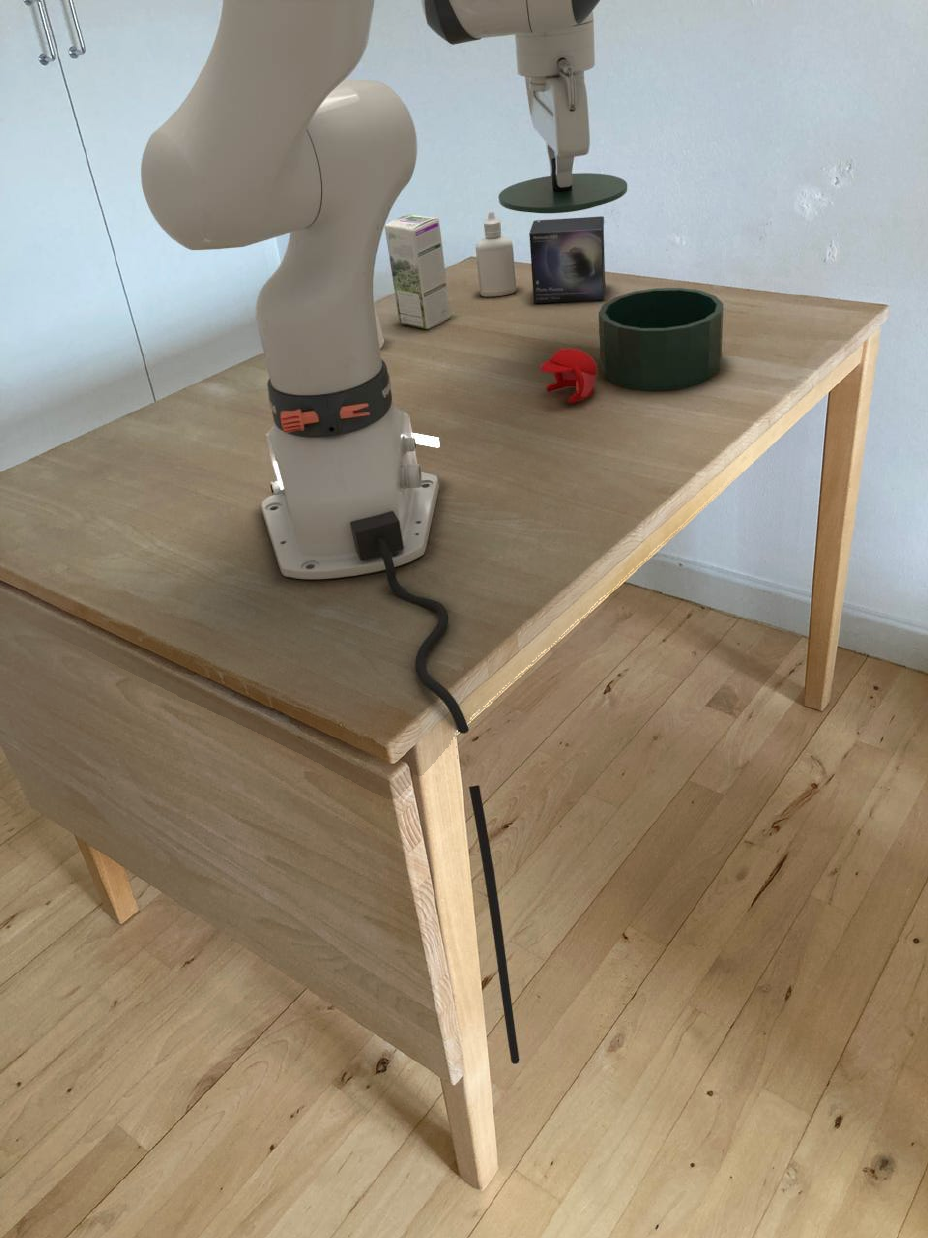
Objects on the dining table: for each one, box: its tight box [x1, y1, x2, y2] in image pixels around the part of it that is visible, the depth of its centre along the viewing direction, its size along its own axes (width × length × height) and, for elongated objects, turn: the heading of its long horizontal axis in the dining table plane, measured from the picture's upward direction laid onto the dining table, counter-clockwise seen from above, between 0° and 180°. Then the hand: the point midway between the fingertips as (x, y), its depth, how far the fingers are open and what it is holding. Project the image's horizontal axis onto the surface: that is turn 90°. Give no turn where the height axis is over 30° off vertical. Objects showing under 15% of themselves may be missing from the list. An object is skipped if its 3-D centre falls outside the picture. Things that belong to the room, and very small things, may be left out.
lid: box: [497, 158, 628, 214], centre depth 125 cm, size 16×16×5 cm
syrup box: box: [384, 214, 452, 330], centre depth 148 cm, size 6×6×14 cm
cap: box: [539, 348, 598, 405], centre depth 123 cm, size 8×6×6 cm
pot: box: [598, 287, 725, 392], centre depth 127 cm, size 15×15×8 cm
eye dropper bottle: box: [475, 211, 517, 298], centre depth 156 cm, size 4×6×12 cm
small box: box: [528, 216, 607, 304], centre depth 152 cm, size 11×6×10 cm, turn 81°
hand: (561, 181), depth 125 cm, fingers closed on lid, 2 cm apart
